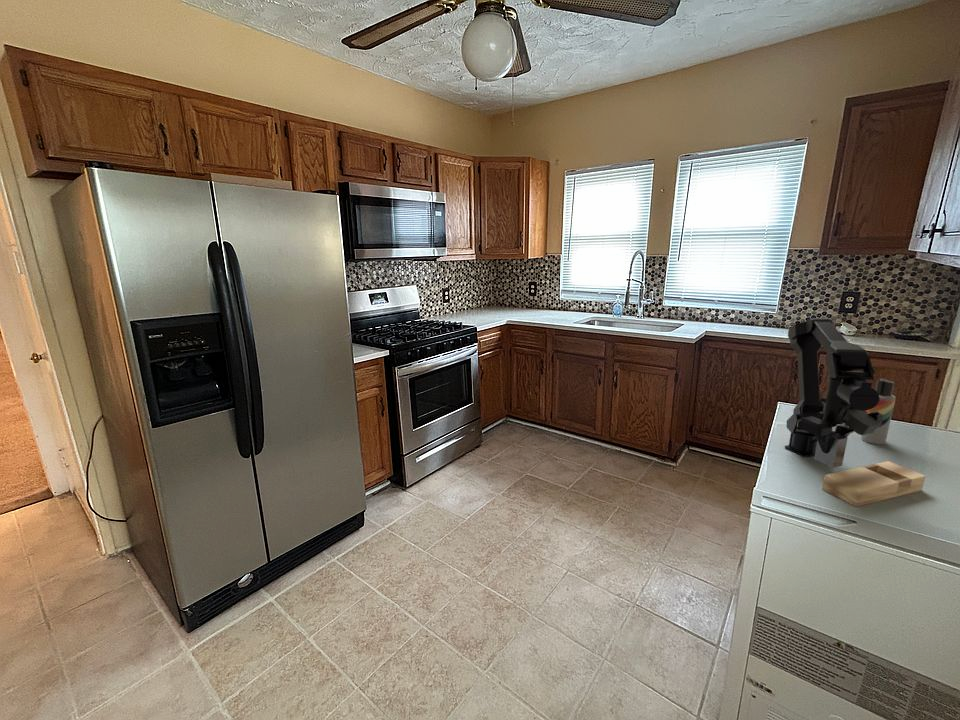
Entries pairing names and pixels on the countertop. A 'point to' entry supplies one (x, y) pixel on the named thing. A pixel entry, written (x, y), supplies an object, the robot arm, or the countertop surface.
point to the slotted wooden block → (873, 483)
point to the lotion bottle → (882, 411)
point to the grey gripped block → (832, 452)
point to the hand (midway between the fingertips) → (829, 451)
